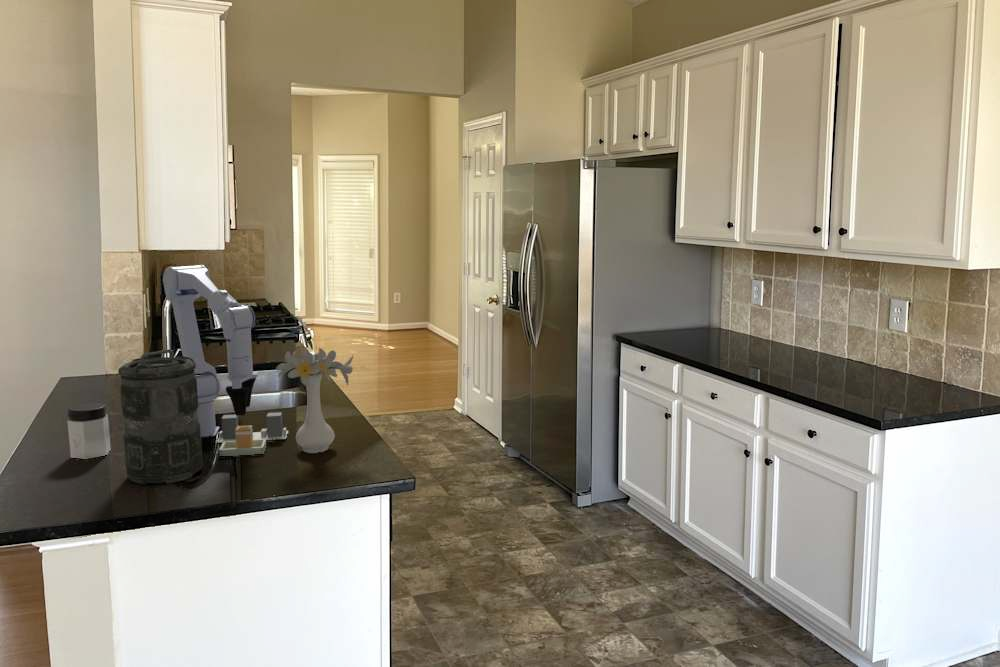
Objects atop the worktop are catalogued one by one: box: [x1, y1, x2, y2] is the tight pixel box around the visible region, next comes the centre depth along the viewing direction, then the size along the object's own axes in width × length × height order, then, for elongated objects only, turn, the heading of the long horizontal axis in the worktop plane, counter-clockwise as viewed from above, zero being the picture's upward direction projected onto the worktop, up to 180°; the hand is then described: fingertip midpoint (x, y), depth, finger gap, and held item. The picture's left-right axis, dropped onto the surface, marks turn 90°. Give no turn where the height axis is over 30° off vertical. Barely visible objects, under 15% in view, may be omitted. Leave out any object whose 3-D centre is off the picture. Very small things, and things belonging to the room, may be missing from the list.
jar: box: [66, 402, 112, 459], centre depth 196 cm, size 9×8×12 cm
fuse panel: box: [216, 411, 289, 444], centre depth 209 cm, size 17×7×6 cm, turn 100°
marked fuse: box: [235, 424, 253, 448], centre depth 198 cm, size 4×4×6 cm
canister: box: [117, 349, 203, 486], centre depth 181 cm, size 16×16×28 cm
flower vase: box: [275, 347, 354, 454], centre depth 199 cm, size 13×18×25 cm
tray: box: [218, 439, 268, 457], centre depth 199 cm, size 10×7×2 cm
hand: (242, 410), depth 199 cm, fingers open, 7 cm apart
